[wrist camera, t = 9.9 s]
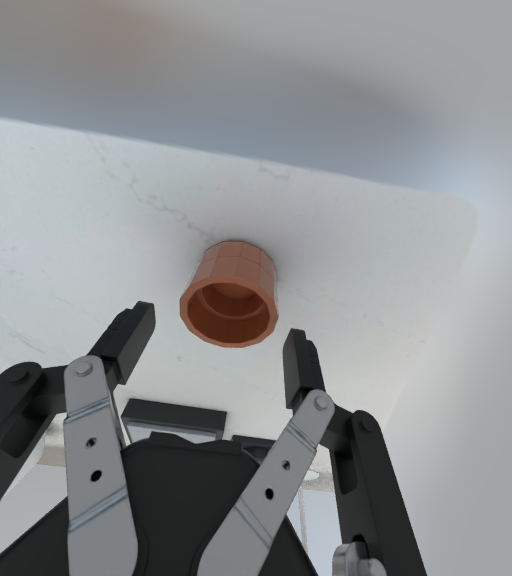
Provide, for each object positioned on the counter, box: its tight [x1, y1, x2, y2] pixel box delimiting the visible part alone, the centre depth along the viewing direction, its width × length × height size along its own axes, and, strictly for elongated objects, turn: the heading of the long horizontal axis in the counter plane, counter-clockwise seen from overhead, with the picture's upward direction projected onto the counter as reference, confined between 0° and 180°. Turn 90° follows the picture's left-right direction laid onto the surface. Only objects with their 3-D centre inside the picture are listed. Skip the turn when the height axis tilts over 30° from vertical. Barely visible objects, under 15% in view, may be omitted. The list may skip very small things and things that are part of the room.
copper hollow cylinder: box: [180, 241, 278, 348], centre depth 16 cm, size 6×6×5 cm
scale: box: [121, 399, 227, 443], centre depth 35 cm, size 14×12×3 cm
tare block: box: [231, 435, 276, 461], centre depth 40 cm, size 10×8×2 cm
